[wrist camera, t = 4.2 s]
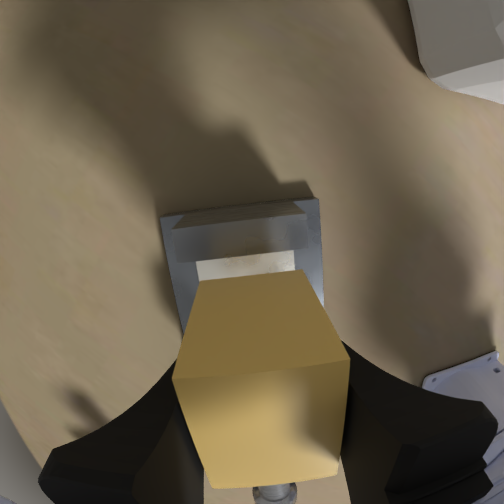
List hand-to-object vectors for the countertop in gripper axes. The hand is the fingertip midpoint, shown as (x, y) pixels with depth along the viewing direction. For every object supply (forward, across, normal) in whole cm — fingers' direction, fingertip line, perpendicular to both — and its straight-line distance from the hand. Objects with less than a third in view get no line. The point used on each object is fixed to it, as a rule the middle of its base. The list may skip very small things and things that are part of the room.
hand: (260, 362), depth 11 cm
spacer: (+2, 0, 0) cm, 2 cm away
